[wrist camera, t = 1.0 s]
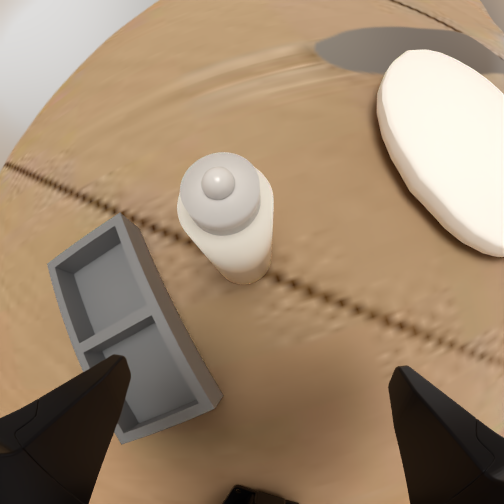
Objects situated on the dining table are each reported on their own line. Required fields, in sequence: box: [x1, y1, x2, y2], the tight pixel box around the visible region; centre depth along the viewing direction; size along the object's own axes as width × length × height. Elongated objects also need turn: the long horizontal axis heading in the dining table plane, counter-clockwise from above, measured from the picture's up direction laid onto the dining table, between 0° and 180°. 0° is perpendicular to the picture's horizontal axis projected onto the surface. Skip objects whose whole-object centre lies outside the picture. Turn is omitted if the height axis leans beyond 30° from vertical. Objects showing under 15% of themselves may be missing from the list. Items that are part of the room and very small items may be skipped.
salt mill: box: [177, 152, 274, 285], centre depth 18 cm, size 5×5×14 cm
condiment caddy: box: [47, 213, 223, 444], centre depth 21 cm, size 16×9×4 cm, turn 29°
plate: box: [377, 50, 504, 257], centre depth 23 cm, size 28×6×27 cm
